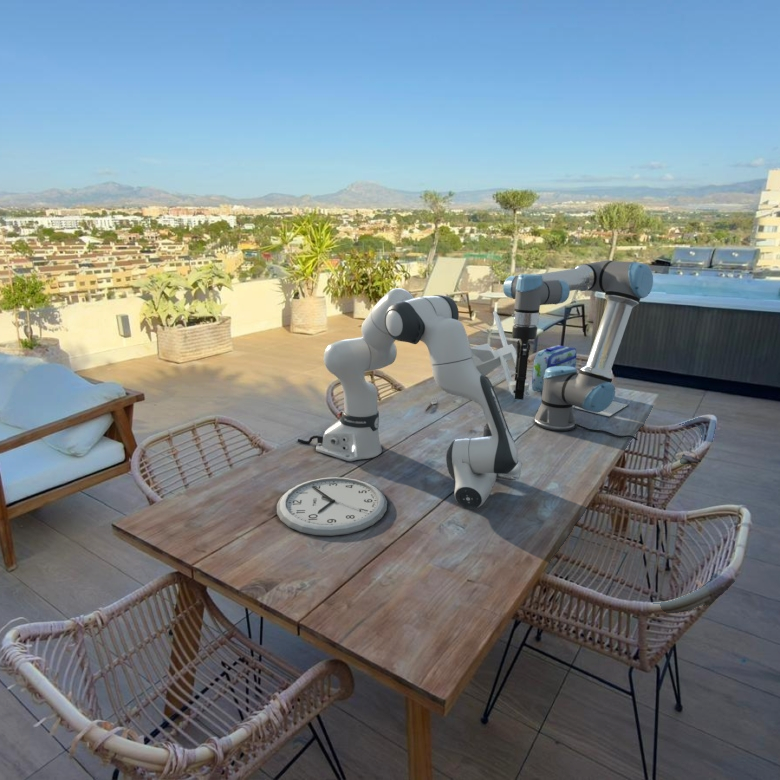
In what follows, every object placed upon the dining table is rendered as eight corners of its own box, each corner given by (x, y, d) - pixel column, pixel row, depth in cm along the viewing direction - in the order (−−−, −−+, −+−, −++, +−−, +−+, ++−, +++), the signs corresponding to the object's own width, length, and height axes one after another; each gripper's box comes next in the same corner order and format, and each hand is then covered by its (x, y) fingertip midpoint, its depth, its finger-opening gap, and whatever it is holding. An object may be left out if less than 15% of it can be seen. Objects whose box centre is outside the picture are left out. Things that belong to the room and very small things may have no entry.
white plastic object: (461, 429, 252) (437, 405, 227) (444, 352, 274) (420, 323, 250) (535, 404, 240) (518, 377, 215) (510, 326, 262) (492, 293, 237)
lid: (517, 384, 173) (518, 379, 172) (532, 389, 168) (532, 384, 168) (505, 387, 169) (506, 382, 169) (519, 392, 165) (520, 386, 164)
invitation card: (608, 416, 214) (573, 407, 224) (608, 416, 214) (573, 408, 224) (628, 404, 229) (594, 396, 238) (628, 405, 229) (594, 397, 238)
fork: (422, 411, 216) (422, 407, 215) (433, 400, 230) (433, 396, 230) (428, 412, 215) (429, 407, 215) (438, 401, 230) (439, 396, 229)
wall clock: (392, 527, 129) (268, 531, 127) (391, 533, 130) (269, 537, 127) (383, 473, 158) (282, 475, 155) (383, 478, 158) (282, 480, 156)
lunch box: (548, 398, 236) (553, 353, 229) (527, 393, 243) (531, 349, 237) (575, 387, 253) (581, 344, 247) (555, 382, 260) (560, 341, 254)
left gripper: (519, 470, 144) (526, 451, 157) (447, 457, 152) (460, 440, 164) (517, 490, 146) (524, 470, 159) (446, 477, 154) (458, 458, 166)
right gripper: (511, 319, 172) (505, 387, 179) (514, 330, 154) (507, 404, 161) (534, 320, 171) (527, 388, 178) (540, 331, 153) (532, 406, 160)
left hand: (491, 455), depth 161 cm, fingers closed on jar, 5 cm apart
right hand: (518, 395), depth 169 cm, fingers closed on lid, 6 cm apart
